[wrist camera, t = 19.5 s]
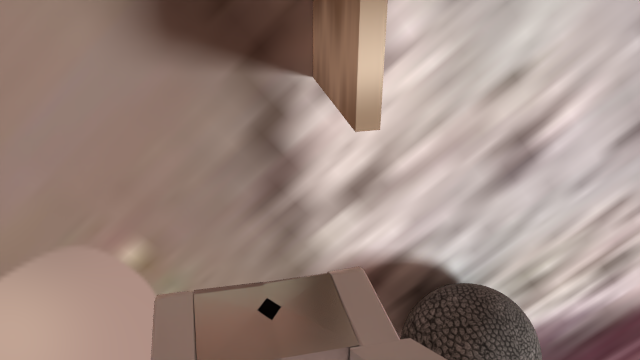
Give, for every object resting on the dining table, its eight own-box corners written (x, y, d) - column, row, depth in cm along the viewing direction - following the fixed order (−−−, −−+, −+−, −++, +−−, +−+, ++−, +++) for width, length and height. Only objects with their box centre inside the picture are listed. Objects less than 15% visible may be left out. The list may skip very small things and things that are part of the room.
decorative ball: (419, 243, 41) (484, 336, 32) (517, 273, 45) (600, 362, 36) (360, 343, 44) (406, 451, 35) (457, 362, 48) (519, 464, 39)
